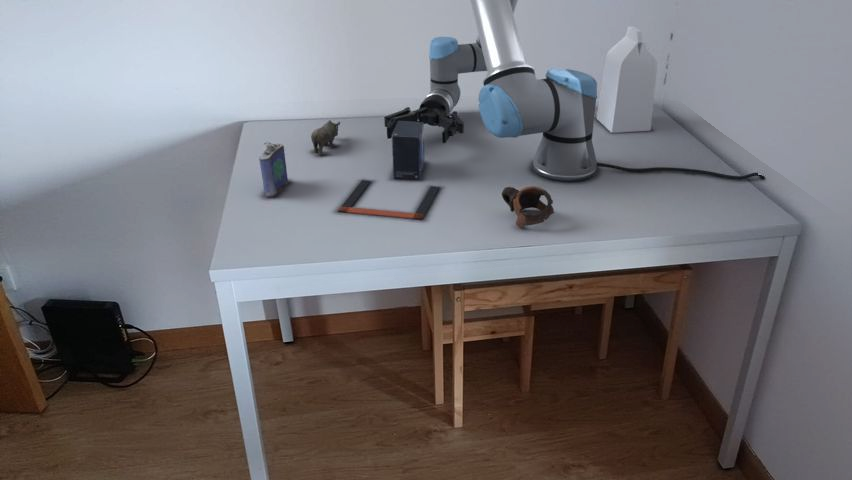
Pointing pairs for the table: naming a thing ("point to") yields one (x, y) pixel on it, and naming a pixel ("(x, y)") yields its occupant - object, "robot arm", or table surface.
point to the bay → (418, 215)
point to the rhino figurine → (324, 136)
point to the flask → (273, 169)
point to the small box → (408, 150)
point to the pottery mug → (528, 204)
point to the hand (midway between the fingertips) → (415, 135)
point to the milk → (628, 85)
